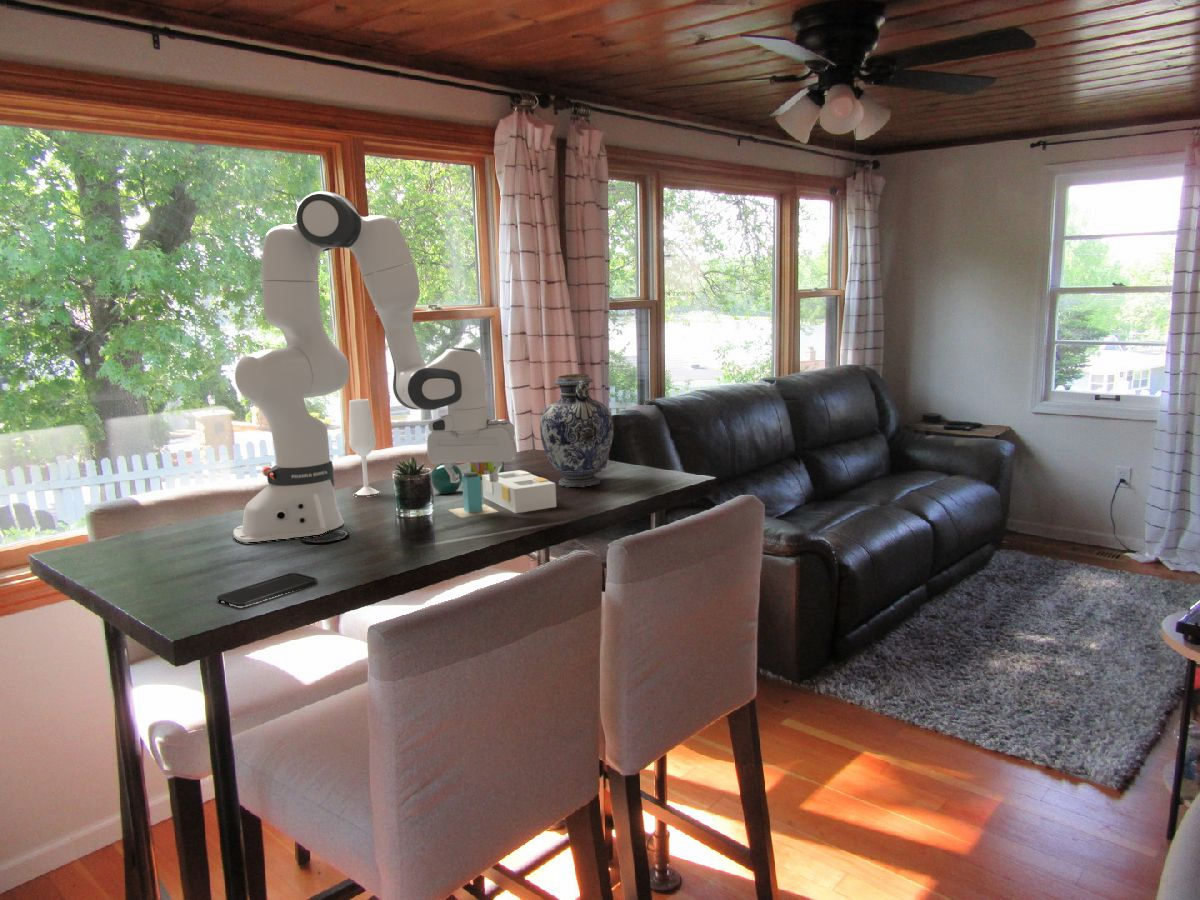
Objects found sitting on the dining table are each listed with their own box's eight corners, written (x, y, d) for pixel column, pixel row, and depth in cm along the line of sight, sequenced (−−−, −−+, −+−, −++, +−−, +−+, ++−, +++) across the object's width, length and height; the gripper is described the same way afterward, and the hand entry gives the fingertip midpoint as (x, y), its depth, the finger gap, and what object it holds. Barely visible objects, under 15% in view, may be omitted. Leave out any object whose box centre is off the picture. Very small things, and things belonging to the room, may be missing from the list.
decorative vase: (625, 487, 217) (620, 375, 212) (552, 495, 212) (545, 381, 208) (604, 472, 237) (598, 370, 232) (537, 479, 233) (530, 375, 228)
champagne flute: (376, 496, 219) (368, 401, 215) (349, 497, 219) (341, 402, 215) (383, 490, 225) (376, 398, 221) (357, 491, 226) (349, 399, 221)
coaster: (461, 520, 191) (461, 517, 191) (447, 512, 199) (447, 509, 199) (499, 514, 195) (499, 511, 195) (484, 506, 203) (484, 504, 203)
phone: (320, 579, 151) (240, 604, 139) (320, 585, 151) (241, 611, 139) (292, 572, 155) (213, 596, 143) (293, 578, 155) (214, 602, 144)
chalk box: (471, 473, 245) (468, 420, 242) (504, 471, 246) (501, 419, 243) (470, 479, 236) (466, 425, 233) (504, 477, 236) (501, 423, 234)
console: (514, 515, 193) (513, 488, 192) (482, 499, 210) (480, 474, 209) (556, 509, 198) (555, 482, 197) (521, 493, 215) (520, 468, 214)
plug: (469, 513, 195) (466, 475, 193) (464, 510, 197) (461, 473, 196) (482, 511, 196) (480, 473, 195) (477, 508, 199) (475, 471, 197)
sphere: (425, 493, 220) (423, 462, 218) (454, 488, 224) (452, 458, 223) (440, 498, 213) (438, 466, 212) (469, 493, 218) (467, 462, 217)
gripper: (518, 417, 193) (523, 478, 196) (433, 420, 199) (439, 479, 201) (508, 420, 187) (513, 483, 190) (421, 424, 193) (427, 485, 195)
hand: (474, 481), depth 195 cm, fingers open, 8 cm apart
